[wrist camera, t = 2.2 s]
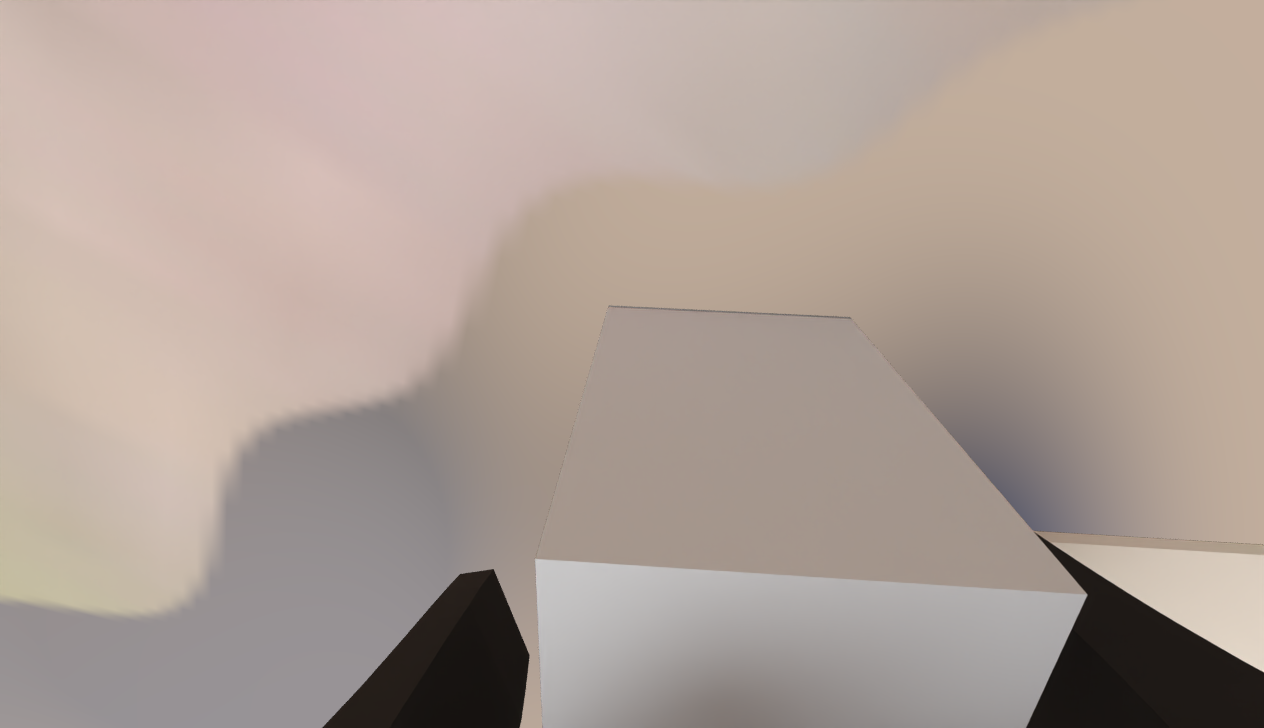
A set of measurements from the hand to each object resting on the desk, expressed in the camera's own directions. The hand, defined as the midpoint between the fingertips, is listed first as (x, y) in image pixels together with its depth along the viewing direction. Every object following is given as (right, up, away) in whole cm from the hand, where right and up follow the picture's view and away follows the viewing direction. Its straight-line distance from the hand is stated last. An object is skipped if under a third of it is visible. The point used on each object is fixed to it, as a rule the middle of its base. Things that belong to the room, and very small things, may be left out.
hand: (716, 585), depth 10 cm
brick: (0, +1, +2) cm, 2 cm away
